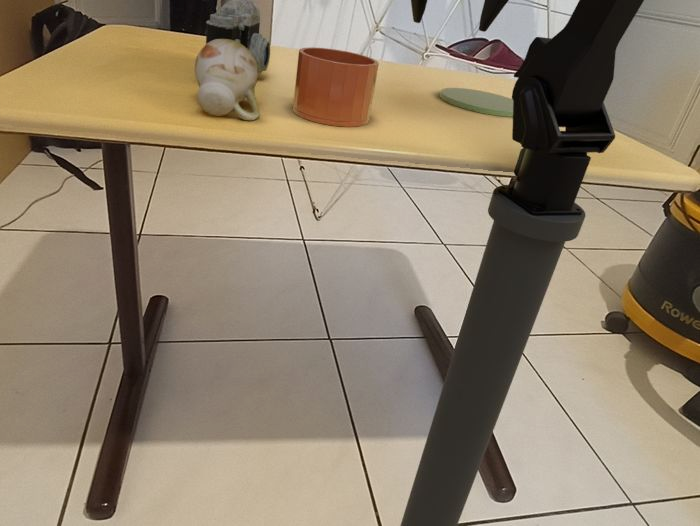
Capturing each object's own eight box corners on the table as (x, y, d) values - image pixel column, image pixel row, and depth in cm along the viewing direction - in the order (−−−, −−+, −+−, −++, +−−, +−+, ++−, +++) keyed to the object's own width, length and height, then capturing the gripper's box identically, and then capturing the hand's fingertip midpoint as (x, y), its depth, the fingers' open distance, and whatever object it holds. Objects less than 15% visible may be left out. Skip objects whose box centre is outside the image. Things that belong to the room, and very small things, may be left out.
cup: (380, 128, 67) (391, 68, 64) (305, 124, 64) (312, 60, 60) (352, 106, 75) (361, 52, 71) (284, 102, 71) (290, 44, 68)
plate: (544, 119, 87) (545, 114, 86) (467, 114, 82) (469, 108, 81) (494, 95, 98) (495, 91, 98) (424, 89, 93) (425, 84, 92)
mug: (180, 119, 59) (172, 23, 59) (210, 137, 68) (204, 55, 68) (249, 112, 58) (242, 16, 58) (270, 132, 68) (264, 49, 68)
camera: (250, 91, 73) (256, 9, 68) (200, 82, 73) (202, -1, 68) (274, 72, 86) (280, 2, 81) (231, 64, 86) (234, -7, 81)
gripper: (510, -110, 69) (478, 25, 77) (375, -145, 62) (353, 8, 69) (571, -113, 60) (528, 39, 68) (422, -154, 53) (391, 22, 61)
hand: (450, 26), depth 67 cm, fingers open, 9 cm apart
